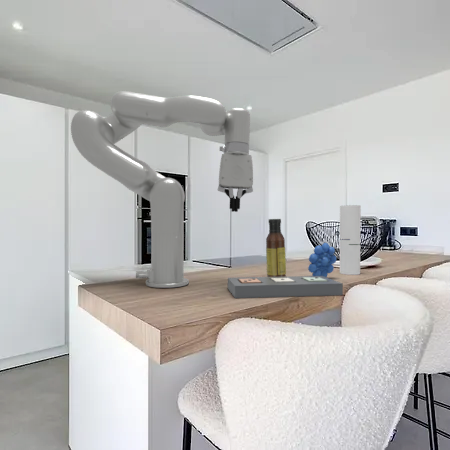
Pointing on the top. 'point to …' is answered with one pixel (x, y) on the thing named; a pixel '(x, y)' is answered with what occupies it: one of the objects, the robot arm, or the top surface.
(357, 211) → the cylindrical container
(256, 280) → the tile three
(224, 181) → the robot arm
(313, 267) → the grapes
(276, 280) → the tile one
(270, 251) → the sauce bottle
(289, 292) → the button board
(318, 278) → the tile two
